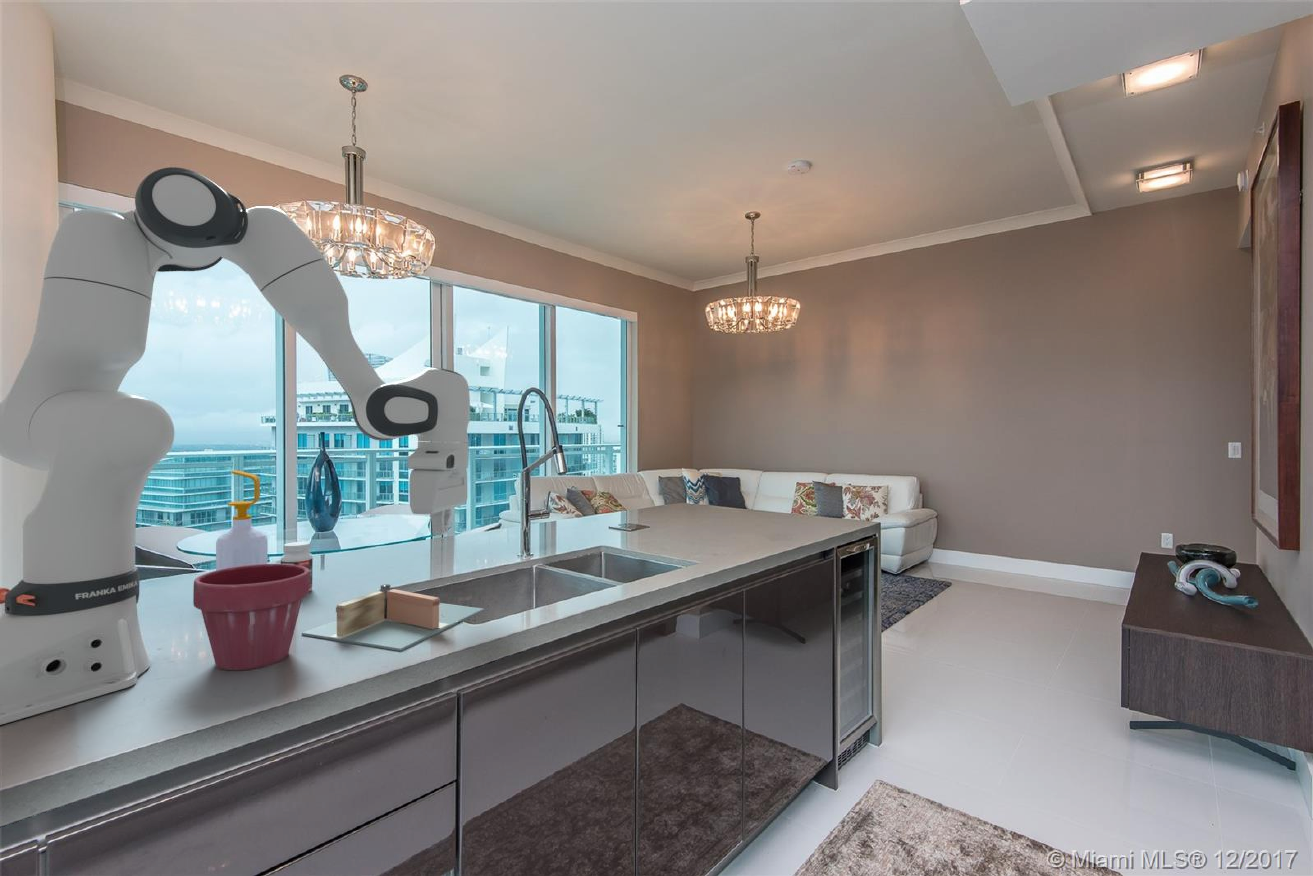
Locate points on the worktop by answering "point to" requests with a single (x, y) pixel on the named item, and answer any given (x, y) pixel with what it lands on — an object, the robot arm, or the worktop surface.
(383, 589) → the fence post
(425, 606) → the orange hinged panel
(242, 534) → the soap bottle
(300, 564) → the pill bottle
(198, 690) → the worktop surface
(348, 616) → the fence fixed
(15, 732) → the worktop surface
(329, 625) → the board
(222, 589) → the plant pot
